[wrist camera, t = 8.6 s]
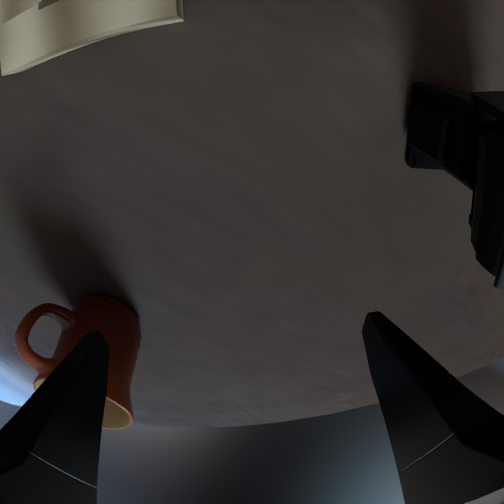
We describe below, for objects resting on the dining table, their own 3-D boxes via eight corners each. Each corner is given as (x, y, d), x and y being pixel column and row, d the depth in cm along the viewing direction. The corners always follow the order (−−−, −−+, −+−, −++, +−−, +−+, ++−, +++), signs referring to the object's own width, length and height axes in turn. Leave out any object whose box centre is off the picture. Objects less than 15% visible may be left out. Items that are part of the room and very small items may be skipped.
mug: (168, 331, 28) (155, 426, 20) (109, 351, 30) (90, 431, 22) (85, 242, 22) (32, 340, 14) (33, 278, 24) (-11, 360, 15)
